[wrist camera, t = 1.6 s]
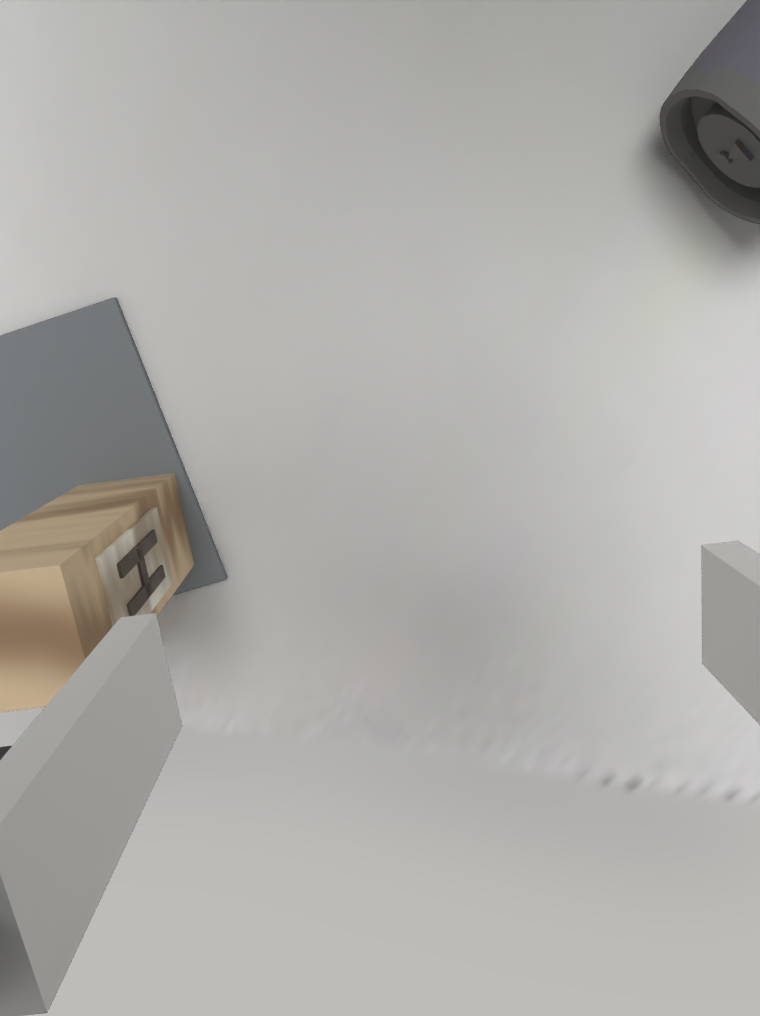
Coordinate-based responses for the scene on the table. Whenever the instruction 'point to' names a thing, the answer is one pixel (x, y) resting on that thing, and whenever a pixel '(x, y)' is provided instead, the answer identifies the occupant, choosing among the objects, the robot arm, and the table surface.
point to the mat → (86, 421)
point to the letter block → (84, 578)
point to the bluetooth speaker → (721, 117)
